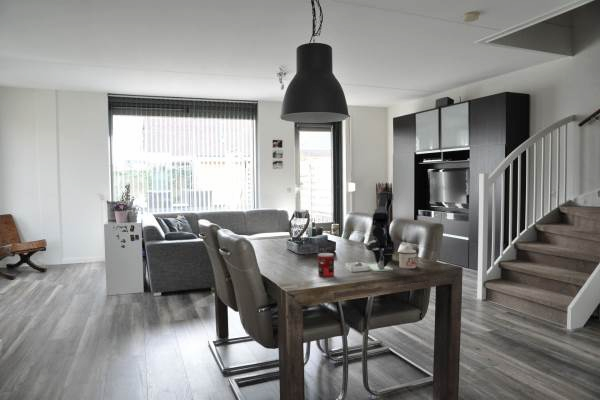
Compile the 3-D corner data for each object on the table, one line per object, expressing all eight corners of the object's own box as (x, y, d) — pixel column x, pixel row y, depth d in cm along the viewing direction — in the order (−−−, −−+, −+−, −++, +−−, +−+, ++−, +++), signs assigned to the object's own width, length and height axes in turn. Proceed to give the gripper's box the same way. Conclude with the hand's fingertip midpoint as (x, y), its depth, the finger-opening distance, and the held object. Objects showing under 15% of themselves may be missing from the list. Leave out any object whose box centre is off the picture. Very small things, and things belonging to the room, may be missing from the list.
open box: (362, 267, 234) (362, 262, 234) (369, 271, 224) (369, 265, 224) (344, 269, 231) (344, 263, 231) (351, 273, 222) (351, 267, 221)
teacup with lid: (407, 270, 225) (407, 248, 224) (395, 267, 233) (395, 246, 232) (424, 267, 231) (423, 246, 230) (411, 264, 239) (411, 243, 238)
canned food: (317, 274, 221) (316, 253, 220) (332, 273, 221) (332, 252, 221) (319, 277, 213) (318, 255, 212) (335, 277, 214) (334, 255, 213)
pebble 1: (360, 268, 228) (360, 261, 228) (363, 270, 224) (363, 262, 224) (353, 269, 227) (353, 261, 227) (356, 270, 223) (356, 263, 223)
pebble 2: (383, 268, 229) (383, 260, 229) (386, 269, 225) (386, 262, 225) (376, 268, 228) (376, 261, 228) (379, 270, 224) (379, 262, 224)
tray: (378, 264, 241) (378, 262, 241) (393, 271, 224) (393, 268, 224) (362, 265, 239) (362, 263, 239) (375, 272, 222) (375, 270, 222)
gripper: (359, 233, 233) (360, 262, 234) (374, 238, 215) (374, 269, 216) (378, 232, 235) (379, 261, 236) (394, 237, 217) (394, 268, 218)
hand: (381, 264), depth 227 cm, fingers open, 9 cm apart
